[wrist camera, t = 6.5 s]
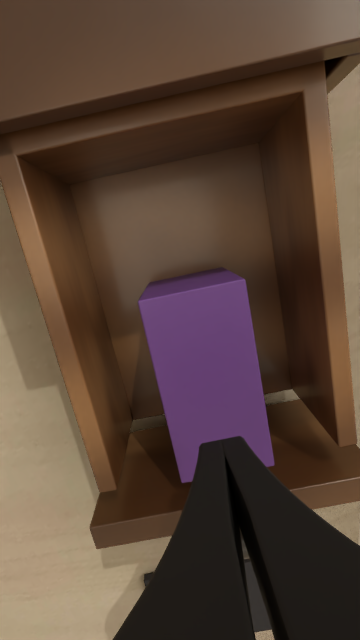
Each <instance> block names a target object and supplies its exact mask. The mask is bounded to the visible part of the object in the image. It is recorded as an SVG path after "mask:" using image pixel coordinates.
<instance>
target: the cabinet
mask: <svg viewBox="0 0 360 640" xmlns="http://www.w3.org/2000/svg"><path fill="white" fill-rule="evenodd" d="M320 61H324V63H325V74H326V86H327V94H328V93H329V92H330V91H331V90H332V89H333V88H334V87H335V86H337V85H338V84H339V83H340V82H341V81H342V80H343V79H344V78H345V77H346V76H347V75H348V74H349V73H350V72H351V71H352V70H353V69H354V68H355V67H356V66H357V65H358V64H359V63H360V0H0V134H4V133H9V132H13V131H18V130H22V129H26V128H31V127H35V126H39V125H44V124H48V123H53V122H57V121H61V120H66V119H70V118H74V117H79V116H83V115H88V114H92V113H96V112H101V111H105V110H109V109H114V108H118V107H123V106H127V105H131V104H136V103H140V102H144V101H149V100H153V99H158V98H162V97H166V96H171V95H175V94H179V93H184V92H188V91H193V90H197V89H201V88H206V87H210V86H214V85H219V84H223V83H228V82H232V81H236V80H241V79H245V78H250V77H254V76H258V75H263V74H267V73H271V72H276V71H280V70H285V69H289V68H293V67H298V66H302V65H306V64H311V63H315V62H320Z"/></svg>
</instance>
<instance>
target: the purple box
mask: <svg viewBox="0 0 360 640" xmlns="http://www.w3.org/2000/svg"><path fill="white" fill-rule="evenodd" d="M138 306H139V310H140V314H141V318H142V322H143V327H144V331H145V335H146V339H147V343H148V347H149V351H150V355H151V360H152V364H153V368H154V372H155V376H156V380H157V384H158V388H159V392H160V397H161V401H162V405H163V409H164V413H165V417H166V421H167V425H168V429H169V434H170V438H171V442H172V446H173V450H174V454H175V458H176V462H177V467H178V471H179V475H180V479H181V482H182V483H186V482H191V481H192V480H193V477H194V473H195V468H196V464H197V459H198V452H199V446H200V445H201V444H202V443H206V442H211V441H216V440H221V439H226V438H231V437H236V436H241V437H243V438H244V439H245V441H246V442H247V444H248V445H249V446H250V448H251V449H252V450H253V452H254V453H255V454H256V455H257V456H258V458H259V459H260V460H261V461H262V462H263V463H264V465H265V466H266V467H270V466H274V464H275V463H274V457H273V451H272V444H271V438H270V432H269V425H268V419H267V413H266V407H265V400H264V394H263V388H262V381H261V375H260V369H259V363H258V356H257V350H256V344H255V337H254V331H253V325H252V318H251V312H250V306H249V300H248V293H247V287H246V281H245V279H244V278H242V277H240V276H238V275H236V274H234V273H233V272H231V271H229V270H227V269H225V268H223V267H220V268H215V269H211V270H206V271H201V272H196V273H192V274H187V275H182V276H177V277H173V278H168V279H163V280H158V281H154V282H150V283H149V284H148V285H147V287H146V289H145V290H144V292H143V294H142V295H141V297H140V299H139V300H138Z"/></svg>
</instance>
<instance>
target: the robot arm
mask: <svg viewBox="0 0 360 640" xmlns="http://www.w3.org/2000/svg"><path fill="white" fill-rule="evenodd" d="M240 530H241V534H242V537H243V540H244V543H245V546H246V549H247V552H248V555H249V558H250V562H251V565H252V568H253V571H254V574H255V577H256V580H257V583H258V586H259V589H260V593H261V596H262V599H263V602H264V605H265V608H266V611H267V614H268V618H269V621H270V625H271V628H272V632H273V635H274V639H275V640H360V546H359V545H358V544H356V543H355V542H353V541H352V540H350V539H349V538H348V537H346V536H345V535H344V534H342V533H341V532H339V531H338V530H337V529H335V528H334V527H333V526H331V525H330V524H329V523H328V522H326V521H325V520H324V519H322V518H321V517H320V516H319V515H317V514H316V513H315V512H314V511H313V510H311V509H310V508H309V507H308V506H307V505H306V504H304V503H303V502H302V501H301V500H300V499H299V498H298V497H297V496H295V495H294V494H293V493H292V492H291V491H290V490H289V489H288V488H287V487H286V486H285V485H284V484H283V483H282V482H281V481H280V480H279V479H278V478H277V477H276V476H275V475H274V474H273V473H272V472H271V471H270V470H269V469H268V468H267V467H266V466H265V465H264V463H263V462H262V461H261V460H260V459H259V458H258V456H257V455H256V454H255V453H254V452H253V450H252V449H251V448H250V446H249V445H248V444H247V442H246V441H245V439H244V438H243V437H241V436H236V437H231V438H226V439H221V440H216V441H211V442H206V443H202V444H201V445H200V446H199V452H198V459H197V464H196V468H195V473H194V477H193V480H192V483H191V487H190V490H189V494H188V497H187V499H186V502H185V505H184V508H183V510H182V513H181V516H180V518H179V521H178V523H177V526H176V528H175V531H174V533H173V535H172V537H171V540H170V542H169V544H168V546H167V548H166V550H165V552H164V554H163V556H162V558H161V560H160V562H159V564H158V566H157V568H156V570H155V571H154V573H153V575H152V577H151V579H150V581H149V583H148V584H147V586H146V588H145V590H144V591H143V593H142V595H141V596H140V598H139V600H138V601H137V603H136V604H135V606H134V607H133V609H132V610H131V612H130V614H129V615H128V617H127V618H126V620H125V621H124V623H123V624H122V626H121V628H120V629H119V631H118V632H117V634H116V635H115V637H114V638H113V640H256V638H255V633H254V627H253V621H252V615H251V607H250V600H249V593H248V585H247V578H246V571H245V563H244V556H243V549H242V542H241V534H240Z"/></svg>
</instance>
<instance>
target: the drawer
mask: <svg viewBox="0 0 360 640" xmlns="http://www.w3.org/2000/svg"><path fill="white" fill-rule="evenodd" d="M0 180H1V183H2V186H3V190H4V193H5V196H6V199H7V202H8V205H9V209H10V212H11V215H12V218H13V221H14V224H15V227H16V231H17V234H18V237H19V240H20V243H21V246H22V250H23V253H24V256H25V259H26V262H27V265H28V268H29V272H30V275H31V278H32V281H33V284H34V287H35V290H36V294H37V297H38V300H39V303H40V306H41V309H42V313H43V316H44V319H45V322H46V325H47V328H48V331H49V335H50V338H51V341H52V344H53V347H54V350H55V354H56V357H57V360H58V363H59V366H60V369H61V372H62V376H63V379H64V382H65V385H66V388H67V391H68V394H69V398H70V401H71V404H72V407H73V410H74V413H75V417H76V420H77V423H78V426H79V429H80V432H81V435H82V439H83V442H84V445H85V448H86V451H87V454H88V458H89V461H90V464H91V467H92V470H93V473H94V476H95V480H96V483H97V486H98V489H99V492H100V494H99V497H98V501H97V504H96V508H95V511H94V514H93V518H92V521H91V524H90V531H91V534H92V537H93V540H94V543H95V546H96V549H101V548H107V547H112V546H117V545H123V544H128V543H134V542H139V541H144V540H150V539H155V538H161V537H166V536H172V535H173V533H174V531H175V528H176V526H177V523H178V521H179V518H180V516H181V513H182V510H183V508H184V505H185V502H186V499H187V497H188V494H189V490H190V487H191V483H192V481H191V482H186V483H182V482H181V479H180V475H179V471H178V467H177V462H176V458H175V454H174V450H173V446H172V442H171V438H170V434H169V429H168V425H165V426H160V427H155V428H150V429H145V430H139V431H134V432H130V431H131V426H132V422H133V420H136V419H141V418H146V417H151V416H156V415H161V414H165V413H164V409H163V405H162V401H161V397H160V392H159V388H158V384H157V380H156V376H155V372H154V368H153V364H152V360H151V355H150V351H149V347H148V343H147V339H146V335H145V331H144V327H143V322H142V318H141V314H140V310H139V306H138V300H139V299H140V297H141V295H142V294H143V292H144V290H145V289H146V287H147V285H148V284H149V283H150V282H154V281H158V280H163V279H168V278H173V277H177V276H182V275H187V274H192V273H196V272H201V271H206V270H211V269H215V268H220V267H223V268H225V269H227V270H229V271H231V272H233V273H234V274H236V275H238V276H240V277H242V278H244V279H245V281H246V287H247V293H248V300H249V306H250V312H251V318H252V325H253V331H254V337H255V344H256V350H257V356H258V363H259V369H260V375H261V381H262V388H263V394H268V393H273V392H278V391H283V390H288V389H293V390H294V392H295V393H296V394H297V395H298V397H299V398H300V399H298V400H293V401H288V402H283V403H277V404H272V405H267V406H265V407H266V413H267V419H268V425H269V432H270V438H271V444H272V451H273V457H274V463H275V464H274V466H270V467H267V468H268V469H269V470H270V471H271V472H272V473H273V474H274V475H275V476H276V477H277V478H278V479H279V480H280V481H281V482H282V483H283V484H284V485H285V486H286V487H287V488H288V489H289V490H290V491H291V492H292V493H293V494H294V495H295V496H297V497H298V498H299V499H300V500H301V501H302V502H303V503H304V504H306V505H307V506H308V507H309V508H310V509H311V510H312V509H318V508H323V507H329V506H334V505H339V504H345V503H350V502H356V501H360V448H359V447H358V446H357V445H356V444H357V434H356V422H355V411H354V399H353V387H352V376H351V364H350V353H349V341H348V329H347V318H346V306H345V295H344V283H343V272H342V260H341V248H340V237H339V225H338V214H337V202H336V190H335V179H334V167H333V156H332V144H331V132H330V121H329V109H328V98H327V86H326V74H325V63H324V61H320V62H315V63H311V64H306V65H302V66H298V67H293V68H289V69H285V70H280V71H276V72H271V73H267V74H263V75H258V76H254V77H250V78H245V79H241V80H236V81H232V82H228V83H223V84H219V85H214V86H210V87H206V88H201V89H197V90H193V91H188V92H184V93H179V94H175V95H171V96H166V97H162V98H158V99H153V100H149V101H144V102H140V103H136V104H131V105H127V106H123V107H118V108H114V109H109V110H105V111H101V112H96V113H92V114H88V115H83V116H79V117H74V118H70V119H66V120H61V121H57V122H53V123H48V124H44V125H39V126H35V127H31V128H26V129H22V130H18V131H13V132H9V133H4V134H0ZM240 534H241V530H240ZM241 542H242V549H243V556H244V559H249V555H248V552H247V549H246V546H245V543H244V540H243V537H242V534H241Z"/></svg>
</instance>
